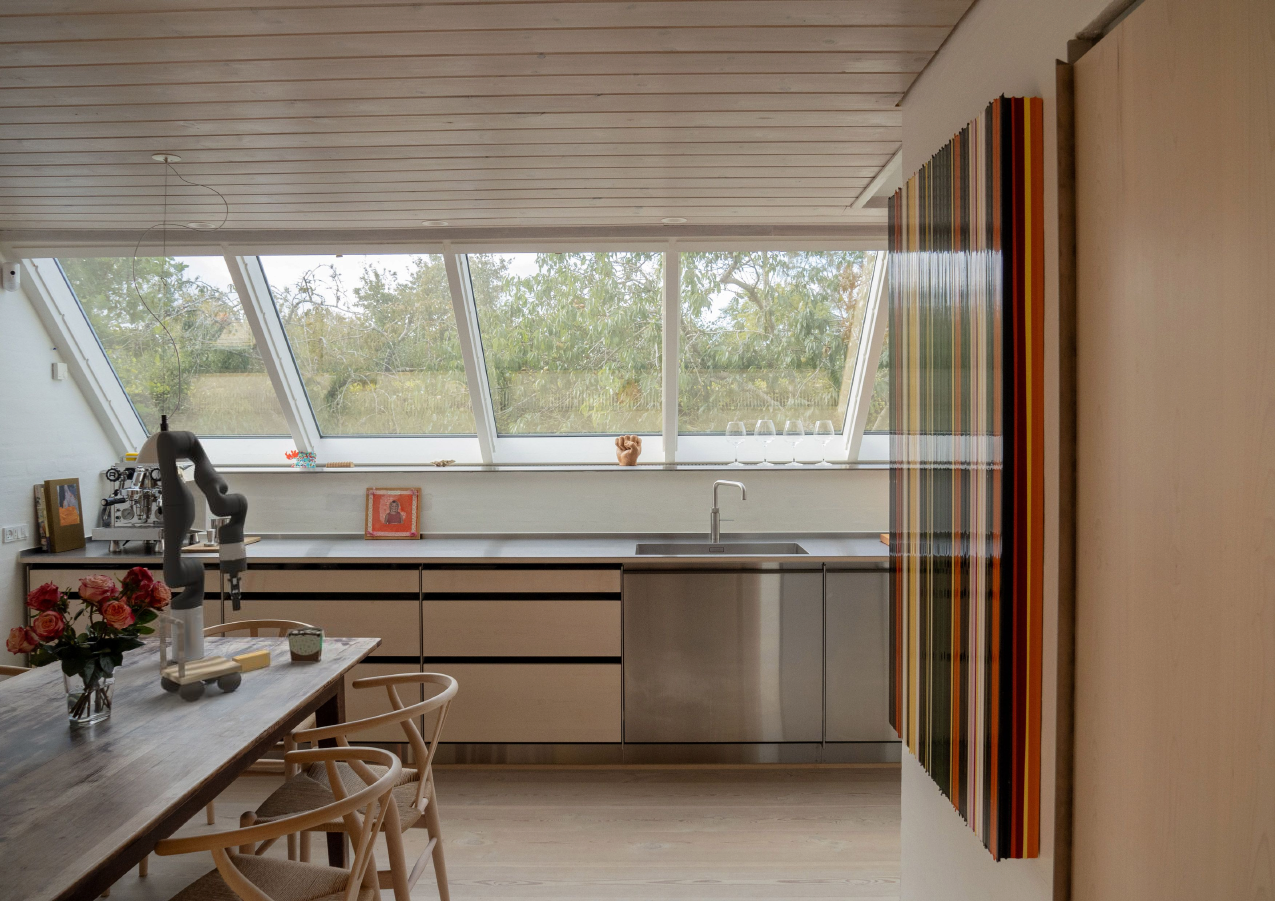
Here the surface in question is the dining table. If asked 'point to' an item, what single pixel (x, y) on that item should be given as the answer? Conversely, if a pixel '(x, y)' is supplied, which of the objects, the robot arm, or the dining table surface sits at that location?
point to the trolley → (194, 668)
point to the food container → (305, 644)
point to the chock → (253, 660)
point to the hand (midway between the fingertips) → (236, 608)
